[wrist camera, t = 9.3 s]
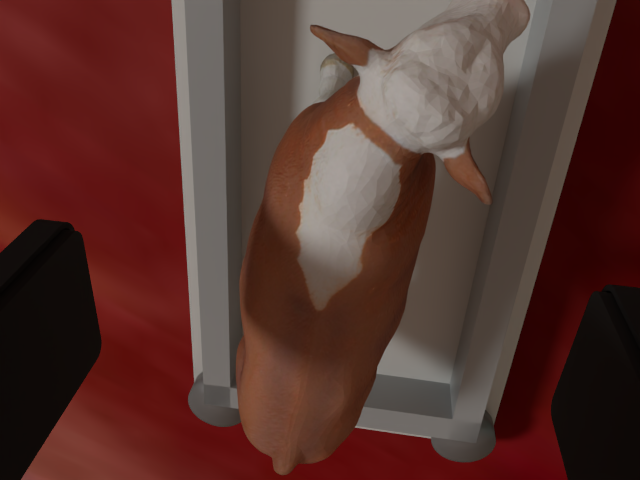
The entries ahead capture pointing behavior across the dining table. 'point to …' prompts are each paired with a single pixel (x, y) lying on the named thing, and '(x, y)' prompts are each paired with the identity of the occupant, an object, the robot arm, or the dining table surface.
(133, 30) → the dining table surface
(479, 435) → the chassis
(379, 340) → the bull figurine
